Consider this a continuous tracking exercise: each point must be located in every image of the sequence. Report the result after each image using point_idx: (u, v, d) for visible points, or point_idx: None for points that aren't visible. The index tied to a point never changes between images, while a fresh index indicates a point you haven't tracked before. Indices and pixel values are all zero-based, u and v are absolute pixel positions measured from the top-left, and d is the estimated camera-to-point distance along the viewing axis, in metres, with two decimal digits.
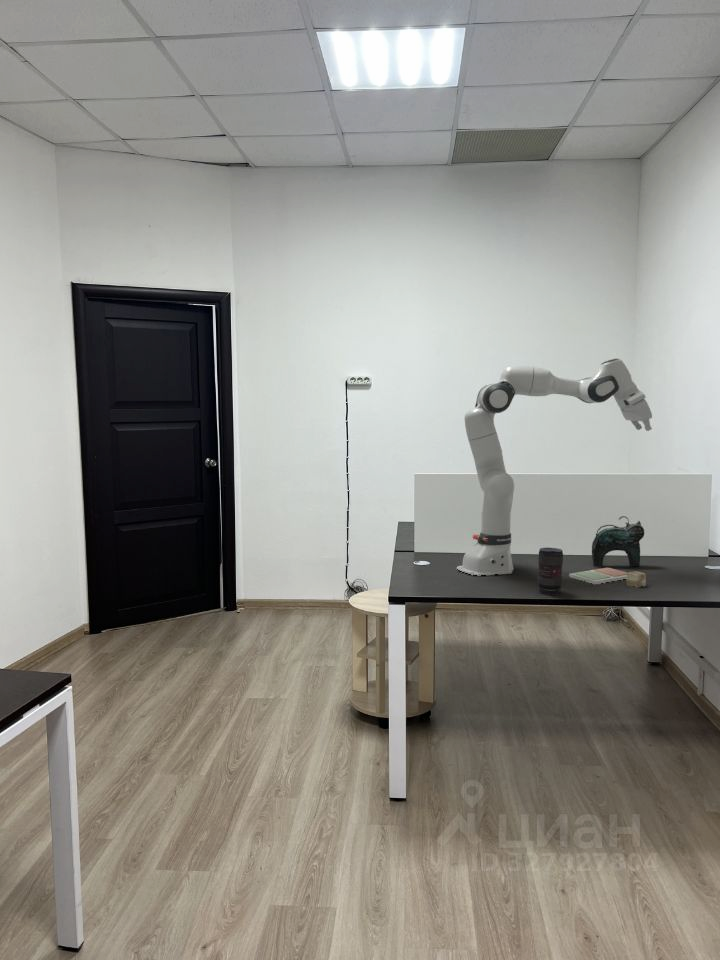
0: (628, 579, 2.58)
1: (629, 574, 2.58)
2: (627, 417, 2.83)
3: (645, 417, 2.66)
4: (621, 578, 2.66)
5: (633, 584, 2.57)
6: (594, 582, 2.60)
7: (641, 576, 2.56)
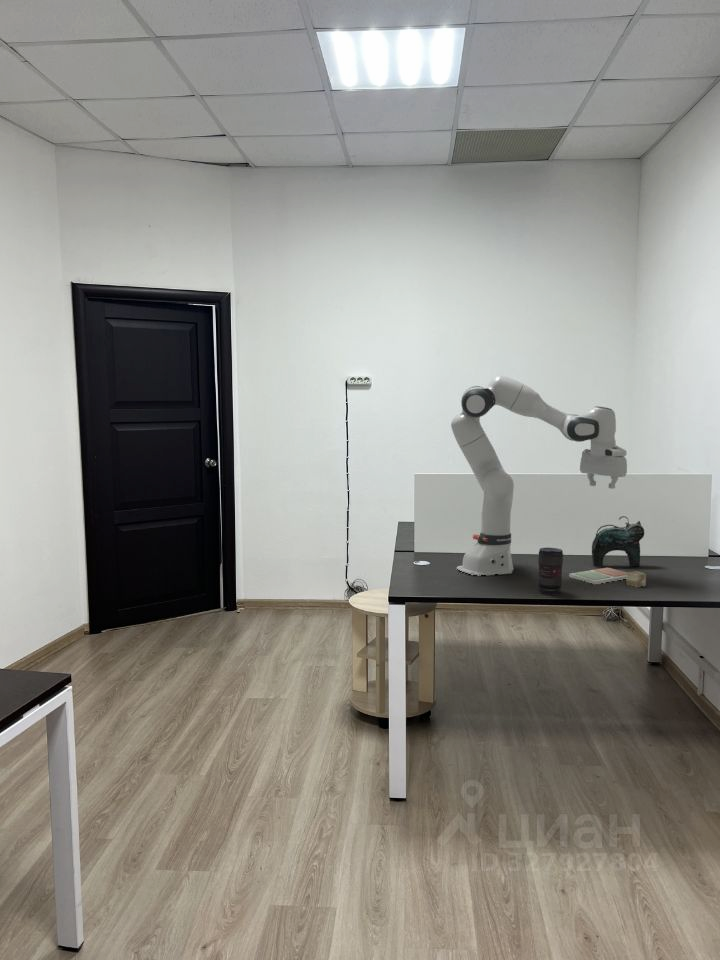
0: (628, 579, 2.58)
1: (629, 574, 2.58)
2: (586, 470, 2.76)
3: (621, 474, 2.62)
4: (621, 578, 2.66)
5: (633, 584, 2.57)
6: (594, 582, 2.60)
7: (641, 576, 2.56)
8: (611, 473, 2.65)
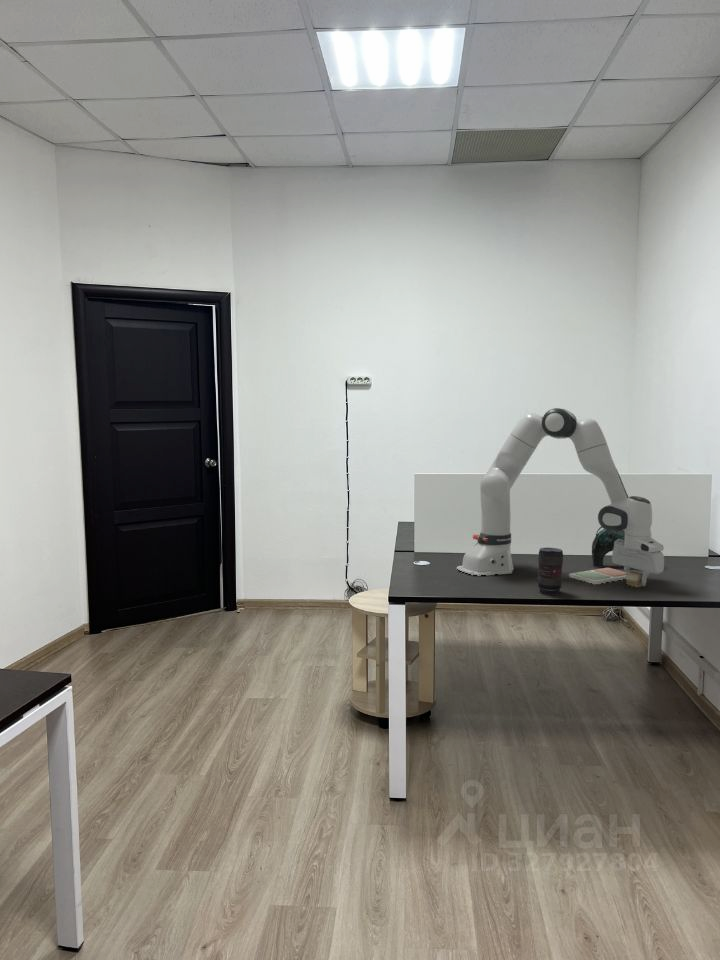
0: (628, 579, 2.58)
1: (629, 574, 2.58)
2: (618, 561, 2.63)
3: (658, 570, 2.49)
4: (621, 578, 2.66)
5: (633, 584, 2.57)
6: (594, 582, 2.60)
7: (641, 576, 2.56)
8: (647, 569, 2.52)
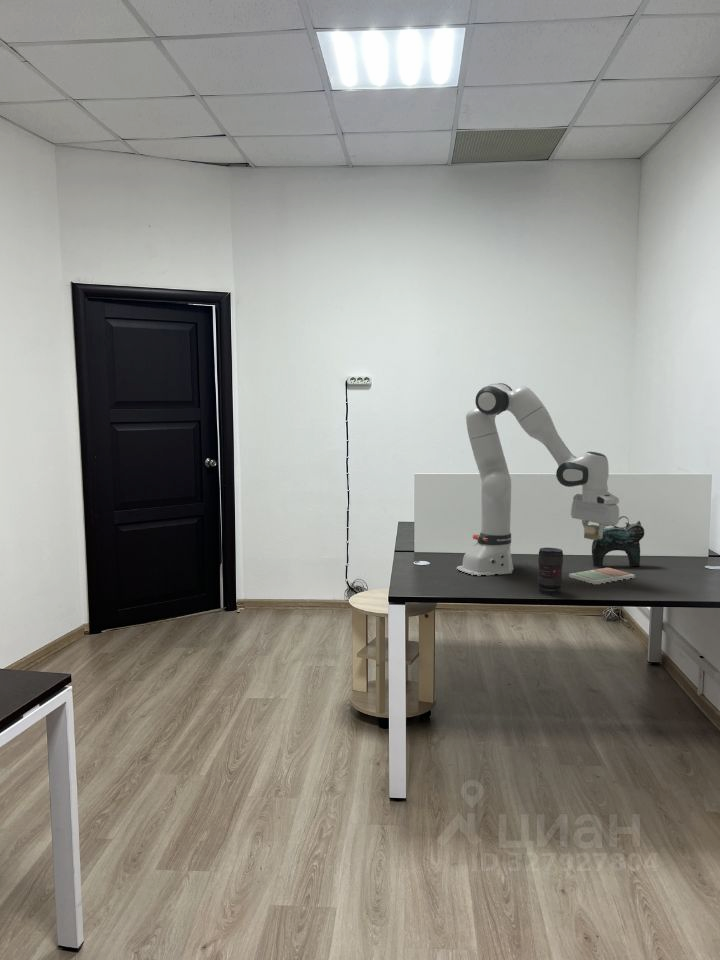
0: (586, 532, 2.66)
1: (586, 527, 2.65)
2: (577, 515, 2.70)
3: (613, 522, 2.56)
4: (621, 578, 2.66)
5: (590, 536, 2.64)
6: (594, 582, 2.60)
7: (597, 528, 2.63)
8: (603, 521, 2.59)
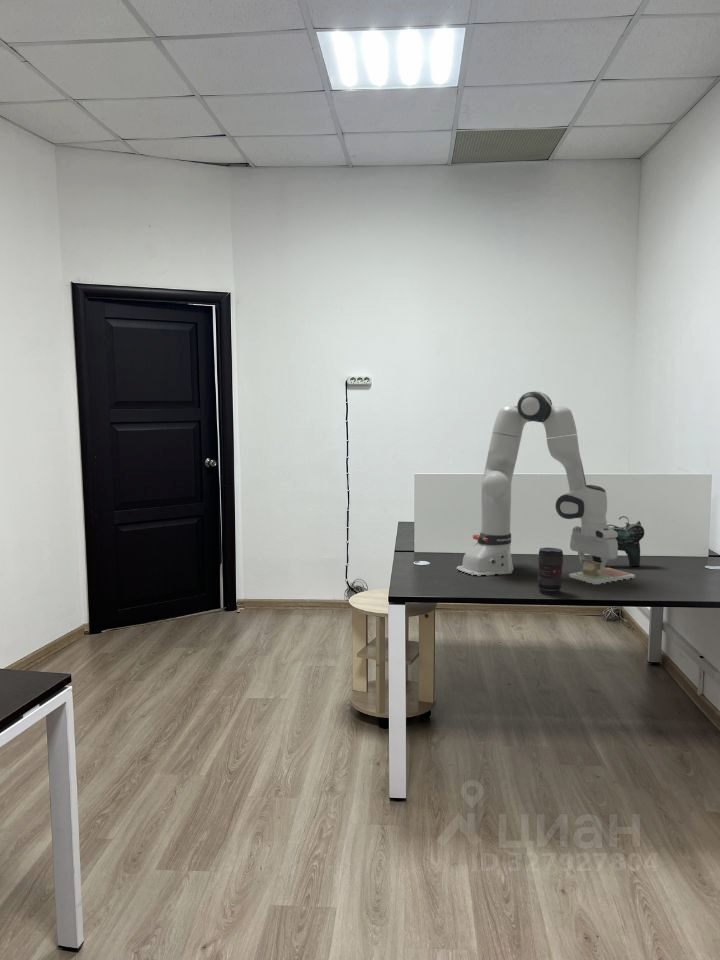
0: (585, 569, 2.67)
1: (585, 563, 2.67)
2: (576, 548, 2.71)
3: (612, 556, 2.57)
4: (621, 578, 2.66)
5: (589, 573, 2.66)
6: (594, 582, 2.60)
7: (596, 565, 2.65)
8: (602, 555, 2.60)
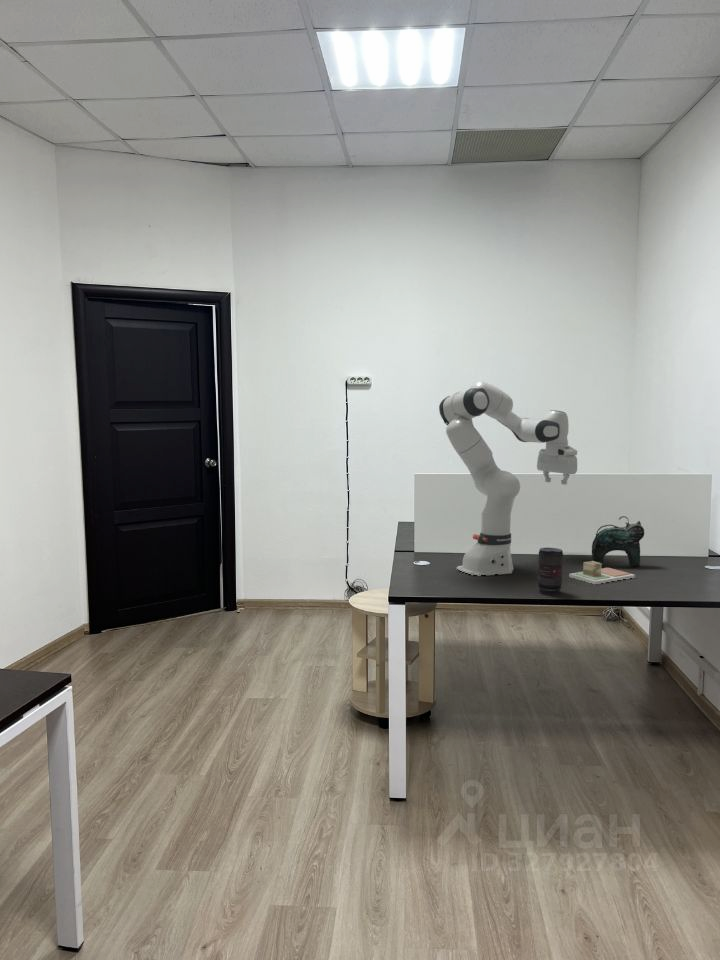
0: (585, 569, 2.67)
1: (585, 563, 2.67)
2: (542, 467, 3.05)
3: (572, 471, 2.91)
4: (621, 578, 2.66)
5: (589, 573, 2.66)
6: (594, 582, 2.60)
7: (596, 565, 2.65)
8: (563, 470, 2.94)
